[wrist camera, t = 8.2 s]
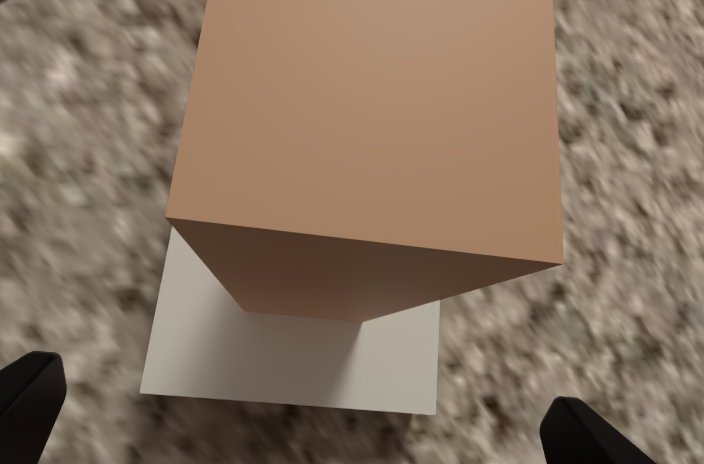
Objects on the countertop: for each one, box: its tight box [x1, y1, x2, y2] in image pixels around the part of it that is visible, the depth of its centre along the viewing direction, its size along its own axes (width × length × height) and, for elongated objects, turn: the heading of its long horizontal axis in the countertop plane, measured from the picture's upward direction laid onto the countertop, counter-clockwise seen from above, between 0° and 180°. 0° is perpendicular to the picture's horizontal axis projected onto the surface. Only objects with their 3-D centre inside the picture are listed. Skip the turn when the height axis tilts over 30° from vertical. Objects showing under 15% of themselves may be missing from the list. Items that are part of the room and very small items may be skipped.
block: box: [165, 0, 564, 322], centre depth 11 cm, size 4×4×12 cm
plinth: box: [140, 226, 440, 415], centre depth 18 cm, size 10×10×2 cm
